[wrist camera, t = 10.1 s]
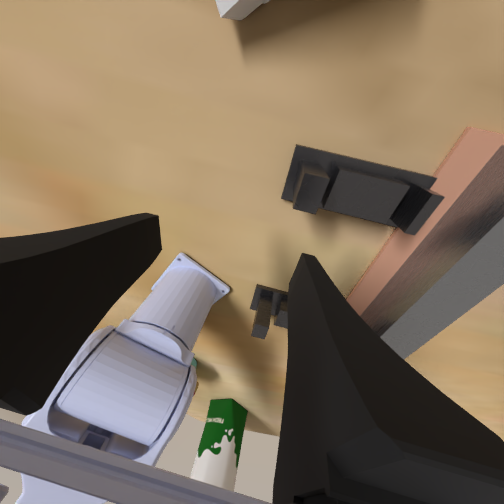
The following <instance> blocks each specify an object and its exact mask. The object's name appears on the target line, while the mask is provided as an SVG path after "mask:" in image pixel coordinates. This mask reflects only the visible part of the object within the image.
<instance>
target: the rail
mask: <svg viewBox="0 0 504 504" xmlns="http://www.w3.org/2000/svg"><path fill="white" fill-rule="evenodd" d="M503 284H504V145H501V146H500V148H499V149H498V150H497V151H496V152H495V154H494V155H493V156H492V157H491V158H490V160H489V161H488V162H487V163H486V164H485V166H484V167H483V168H482V169H481V170H480V172H479V173H478V174H477V175H476V177H475V178H474V179H473V180H472V181H471V183H470V184H469V185H468V186H467V187H466V189H465V190H464V191H463V192H462V193H461V195H460V196H459V197H458V198H457V199H456V201H455V202H454V203H453V204H452V206H451V207H450V208H449V209H448V210H447V212H446V213H445V214H444V215H443V216H442V218H441V219H440V220H439V221H438V222H437V224H436V225H435V226H434V227H433V228H432V230H431V231H430V232H429V233H428V235H427V236H426V237H425V238H424V239H423V241H422V242H421V243H420V244H419V245H418V247H417V248H416V249H415V250H414V251H413V253H412V254H411V255H410V256H409V257H408V259H407V260H406V261H405V262H404V264H403V265H402V266H401V267H400V268H399V270H398V271H397V272H396V273H395V274H394V276H393V277H392V278H391V279H390V280H389V282H388V283H387V284H386V285H385V287H384V288H383V289H382V290H381V291H380V293H379V294H378V295H377V296H376V297H375V299H374V300H373V301H372V302H371V303H370V305H369V306H368V307H367V308H366V309H365V311H364V312H363V313H362V314H361V316H360V317H361V318H362V319H363V320H364V321H365V322H366V323H367V324H368V325H369V327H370V328H371V329H372V330H373V331H374V332H375V333H376V334H377V335H378V336H379V337H380V338H381V339H382V340H383V341H384V342H385V343H386V344H387V345H389V346H390V347H391V348H392V349H393V350H394V351H395V352H396V353H397V354H398V355H399V356H400V357H401V358H402V359H405V358H406V357H408V356H409V355H410V354H412V353H413V352H414V351H416V350H417V349H418V348H420V347H421V346H422V345H424V344H425V343H426V342H428V341H429V340H430V339H432V338H433V337H434V336H435V335H437V334H438V333H439V332H441V331H442V330H443V329H445V328H446V327H447V326H449V325H450V324H451V323H453V322H454V321H455V320H457V319H458V318H459V317H461V316H462V315H463V314H465V313H466V312H467V311H468V310H470V309H471V308H472V307H474V306H475V305H476V304H478V303H479V302H480V301H482V300H483V299H484V298H486V297H487V296H488V295H490V294H491V293H492V292H494V291H495V290H496V289H497V288H499V287H500V286H501V285H503Z"/></svg>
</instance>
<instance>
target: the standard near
mask: <svg viewBox="0 0 504 504" xmlns="http://www.w3.org/2000/svg"><path fill="white" fill-rule="evenodd" d="M436 180H437V178H436V177H433V176H429V175H425V174H421V173H416V172H412V171H408V170H404V169H399V168H395V167H391V166H387V165H382V164H378V163H374V162H370V161H365V160H361V159H357V158H353V157H348V156H344V155H340V154H336V153H331V152H327V151H323V150H319V149H314V148H310V147H306V146H301V145H297V144H296V147H295V151H294V154H293V158H292V162H291V165H290V169H289V172H288V176H287V179H286V183H285V186H284V190H283V193H282V197H281V199H285V200H289V201H293V209H296V210H300V211H304V212H308V213H312V214H316V212H317V210H318V208H321V209H325V210H329V211H333V212H337V213H341V214H345V215H350V216H354V217H358V218H362V219H366V220H370V221H374V222H378V223H382V224H386V225H390V226H394V227H398V228H400V229H401V230H402V231H403V232H404V233H406V234H410V235H414V236H415V235H416V234H417V232H418V231H419V230H420V228H421V227H422V226H423V225H424V223H425V222H426V221H427V220H428V218H429V217H430V216H431V214H432V213H433V212H434V211H435V209H436V208H437V207H438V206H439V204H440V203H441V202H442V200H443V199H444V198H445V197H444V196H442V195H440V194H438V193H436V192H434V191H432V190H430V188H431V187H432V185H433V184H434V183H435V181H436Z"/></svg>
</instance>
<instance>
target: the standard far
mask: <svg viewBox="0 0 504 504" xmlns="http://www.w3.org/2000/svg"><path fill="white" fill-rule="evenodd" d="M287 300H288V292H284V291H281V290H277V289H273V288H269V287H266V286H262V285H258V284H257V286H256V289H255V293H254V296H253V300H252V303H251V307H250V309H252V310H256V314H255V319H254V324H253V329H252V334H251V336H254V337H257V338H261V339H265V337H266V334H267V332H268V329H269V325H270V317H271V315H274V316H275V319H274V325H276V326H280V327H284V328H287V329H288V315H287Z"/></svg>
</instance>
